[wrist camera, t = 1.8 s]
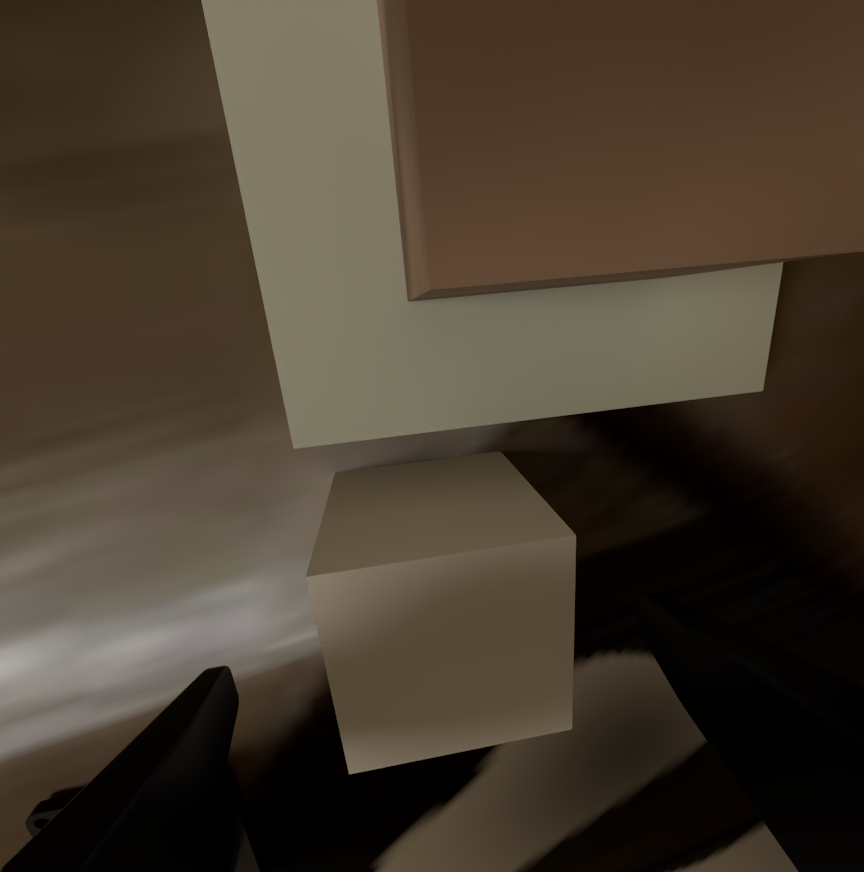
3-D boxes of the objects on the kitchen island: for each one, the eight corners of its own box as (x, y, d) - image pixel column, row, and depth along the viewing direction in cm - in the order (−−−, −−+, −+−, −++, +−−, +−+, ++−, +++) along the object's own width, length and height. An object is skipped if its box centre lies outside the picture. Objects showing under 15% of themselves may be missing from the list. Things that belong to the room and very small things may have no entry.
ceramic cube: (505, 586, 14) (572, 729, 9) (359, 610, 13) (348, 774, 9) (499, 450, 12) (575, 535, 8) (335, 471, 12) (306, 576, 7)
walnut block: (665, 277, 9) (865, 250, 5) (407, 301, 9) (430, 289, 5) (692, -65, 7) (1020, -465, 4) (370, -65, 7) (359, -533, 3)
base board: (703, 379, 12) (762, 390, 10) (308, 426, 11) (293, 448, 9) (765, -166, 9) (872, -298, 7) (193, -177, 8) (131, -342, 6)
